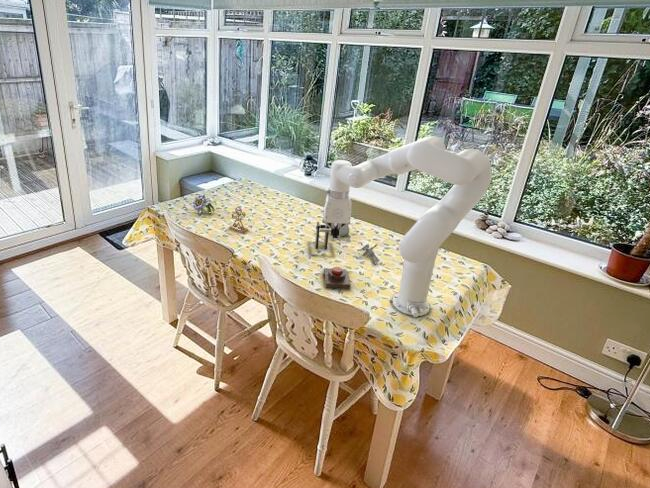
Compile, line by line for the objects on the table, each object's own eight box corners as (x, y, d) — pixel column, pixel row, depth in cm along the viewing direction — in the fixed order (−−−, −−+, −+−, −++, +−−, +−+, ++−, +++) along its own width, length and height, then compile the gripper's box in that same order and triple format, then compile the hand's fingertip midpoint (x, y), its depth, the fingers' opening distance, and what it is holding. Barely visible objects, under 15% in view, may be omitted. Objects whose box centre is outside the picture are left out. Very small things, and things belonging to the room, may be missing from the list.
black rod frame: (333, 256, 179) (336, 230, 174) (310, 255, 180) (312, 229, 175) (330, 243, 190) (332, 218, 185) (308, 242, 191) (310, 217, 186)
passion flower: (198, 222, 222) (185, 204, 221) (210, 212, 230) (199, 194, 228) (209, 216, 214) (196, 197, 213) (222, 206, 221) (209, 188, 220)
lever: (331, 233, 170) (331, 228, 170) (319, 233, 170) (319, 227, 170) (327, 230, 182) (328, 224, 182) (316, 229, 182) (316, 224, 182)
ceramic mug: (325, 236, 197) (326, 221, 194) (337, 231, 202) (338, 217, 199) (342, 245, 190) (343, 230, 186) (353, 240, 194) (355, 225, 191)
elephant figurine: (365, 267, 172) (353, 251, 178) (369, 271, 176) (357, 256, 182) (385, 252, 171) (372, 237, 176) (388, 257, 175) (376, 242, 181)
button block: (349, 289, 156) (350, 280, 155) (325, 288, 157) (326, 279, 156) (345, 273, 167) (346, 265, 165) (323, 272, 167) (324, 264, 166)
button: (342, 275, 159) (342, 271, 158) (332, 275, 159) (333, 271, 158) (341, 270, 162) (341, 266, 161) (331, 270, 162) (332, 266, 162)
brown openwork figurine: (229, 228, 204) (228, 206, 199) (233, 225, 207) (233, 203, 202) (243, 233, 199) (243, 210, 194) (248, 230, 202) (248, 208, 197)
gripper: (319, 196, 151) (315, 240, 158) (360, 197, 150) (355, 242, 157) (318, 189, 158) (314, 231, 165) (357, 190, 157) (352, 233, 164)
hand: (334, 236), depth 161 cm, fingers closed
